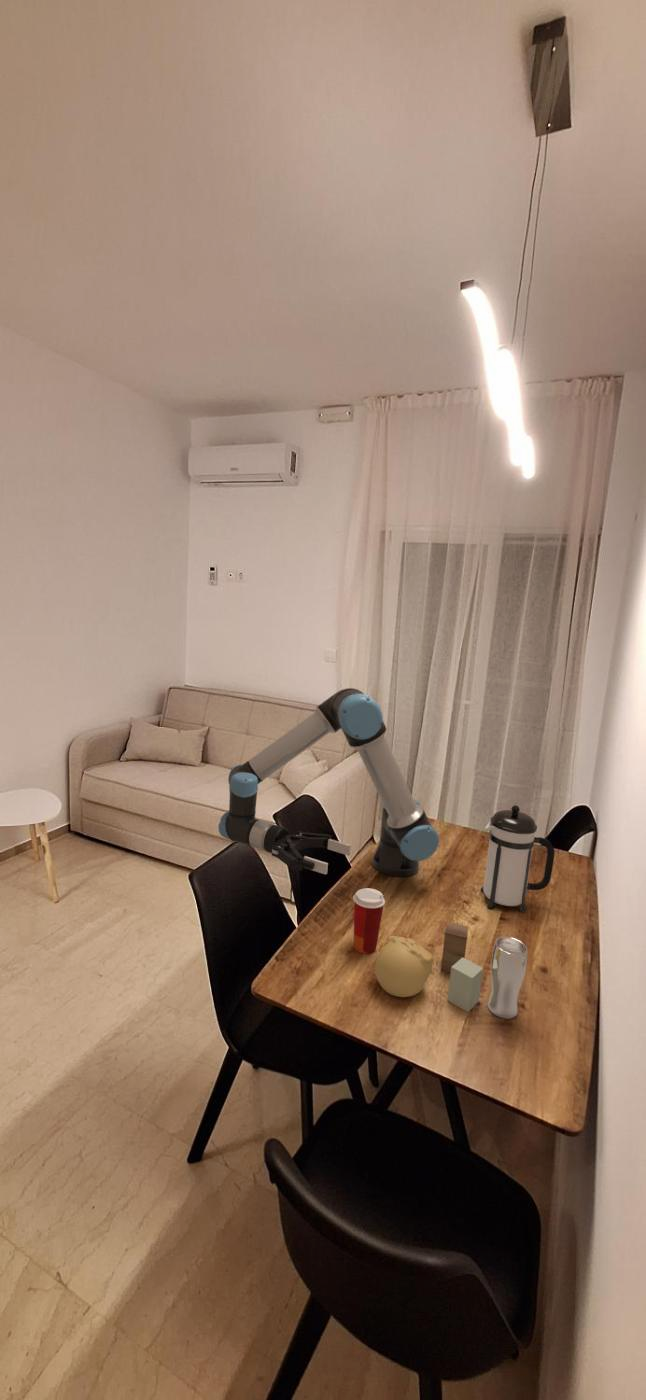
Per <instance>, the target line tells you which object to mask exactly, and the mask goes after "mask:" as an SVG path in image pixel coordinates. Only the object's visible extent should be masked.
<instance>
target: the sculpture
mask: <svg viewBox="0 0 646 1400" xmlns="http://www.w3.org/2000/svg"><path fill="white" fill-rule="evenodd" d="M434 960H435V959H434V956H433V954H431V953H430V952H429V951H427V949H424V948H423V946H421V945H420V944H418V942H417V941H416V940H414V939H412V937H411V938H409V937H408V938H405V937H403V936H396V935H389V936H388V940H387V943H386V944H385V945H384V946H383V947H382V948H381V949H380V951H379V952H378V954H377V956H376V960H375V965H374V967H375V969H374V970H375V976H376V979H377V982H378V983H379V985H380V986H381V988H382V990H384V991H385V992H387V994H389V995H391V996H394V997H399V998H407V997H408V998H409V997H413V996H415V995H417V994H418V993H420V992H421V991H422V989H423V988H424V986H425V985H426V983H427V981H428V979H429V977H430V975H431V974H432V970H433V963H434Z"/></svg>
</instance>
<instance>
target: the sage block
mask: <svg viewBox="0 0 646 1400" xmlns="http://www.w3.org/2000/svg"><path fill="white" fill-rule="evenodd" d="M483 973H484V968H483V966H480V965H478V964H477V963H475V962H473V961H470V960H469V959H466V958H463V957H462V958H461V959H460V960H459V961H458V962H457V963H455V964H454V965H453V966H452V967H451V973H450V974H449V981H448V991H447V1000H446V1001H448V1002H450V1003H452V1004H453V1005H455V1006H457V1007H458V1008H460V1009H461V1010H463V1011H465V1012H467V1013H469V1012H470V1011H471V1010H472V1009H473V1008H474V1007H475V1005H477V1004H478V1003H479V1001H480V998H481V997H480V995H481V990H482V989H481V988H482V987H481V986H482V983H483V982H482V980H483Z"/></svg>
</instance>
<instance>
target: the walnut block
mask: <svg viewBox="0 0 646 1400" xmlns="http://www.w3.org/2000/svg"><path fill="white" fill-rule="evenodd" d="M468 931H469V926H466V925H462V924H458V923H454V922H448V921H447V922H446V925H445V932H444V939H443V948H442V957H441V965H440V973H445V974H448V975H450V973H451V967H452V966H453V965H454V964H455V963H457V962H458V961H459V960H460V959H461V958H462V957H463V958H465V957H466V950H467V943H468V935H469V934H468ZM465 959H466V958H465Z"/></svg>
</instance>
